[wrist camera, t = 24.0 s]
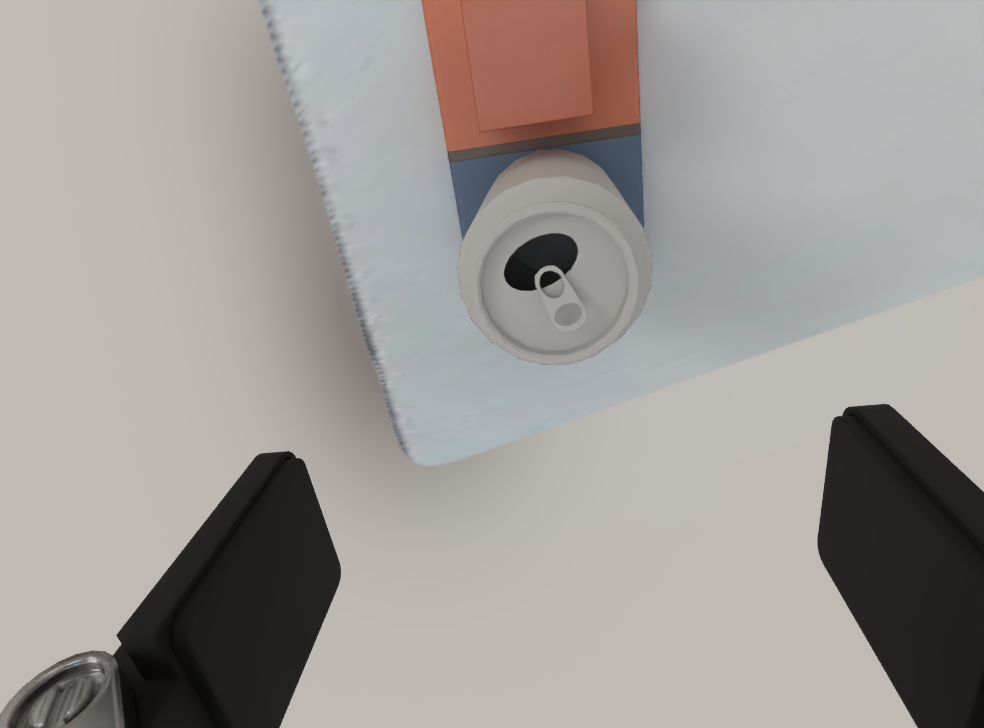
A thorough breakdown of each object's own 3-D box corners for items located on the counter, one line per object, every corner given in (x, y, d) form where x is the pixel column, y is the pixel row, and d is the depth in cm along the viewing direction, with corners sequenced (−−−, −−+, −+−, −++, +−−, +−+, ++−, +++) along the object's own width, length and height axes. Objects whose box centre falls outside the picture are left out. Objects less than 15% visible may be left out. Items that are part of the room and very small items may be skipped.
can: (580, 117, 29) (600, 138, 18) (644, 244, 31) (694, 327, 21) (457, 195, 31) (410, 254, 20) (526, 307, 34) (517, 412, 23)
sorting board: (632, -46, 26) (634, -50, 26) (643, 266, 33) (645, 270, 32) (423, -6, 28) (419, -8, 27) (472, 286, 34) (471, 291, 33)
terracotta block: (578, -6, 27) (585, -24, 22) (586, 110, 29) (594, 115, 24) (473, 14, 27) (459, 0, 23) (489, 125, 29) (478, 132, 25)
